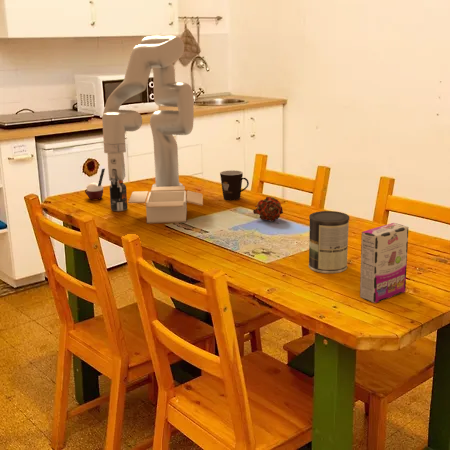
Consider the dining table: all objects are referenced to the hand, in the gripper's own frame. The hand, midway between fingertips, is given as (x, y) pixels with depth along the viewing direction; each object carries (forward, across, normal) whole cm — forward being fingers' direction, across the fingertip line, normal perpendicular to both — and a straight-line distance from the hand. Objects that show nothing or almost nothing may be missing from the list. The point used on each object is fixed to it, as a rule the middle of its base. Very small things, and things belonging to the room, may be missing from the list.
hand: (117, 195), depth 229 cm
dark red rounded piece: (+5, -18, -52) cm, 56 cm away
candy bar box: (+6, -85, -72) cm, 112 cm away
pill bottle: (+6, +1, 0) cm, 6 cm away
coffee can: (+6, -65, -63) cm, 91 cm away
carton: (+5, -11, -15) cm, 20 cm away
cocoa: (+5, +18, +11) cm, 21 cm away
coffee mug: (+5, +11, -42) cm, 44 cm away
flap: (-2, -11, -25) cm, 27 cm away
